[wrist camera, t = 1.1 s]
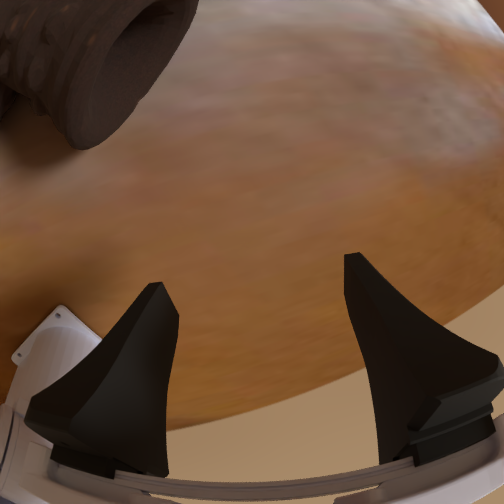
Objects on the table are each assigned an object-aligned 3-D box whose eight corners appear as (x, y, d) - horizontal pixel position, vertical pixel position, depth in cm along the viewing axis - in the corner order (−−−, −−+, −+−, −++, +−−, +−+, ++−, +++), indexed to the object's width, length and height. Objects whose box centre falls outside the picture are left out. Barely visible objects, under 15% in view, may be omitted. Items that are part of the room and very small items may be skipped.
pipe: (-116, 123, 4) (3, 239, 9) (20, -82, 3) (212, -60, 7) (-39, 130, 14) (82, 210, 18) (59, -22, 12) (201, 28, 16)
